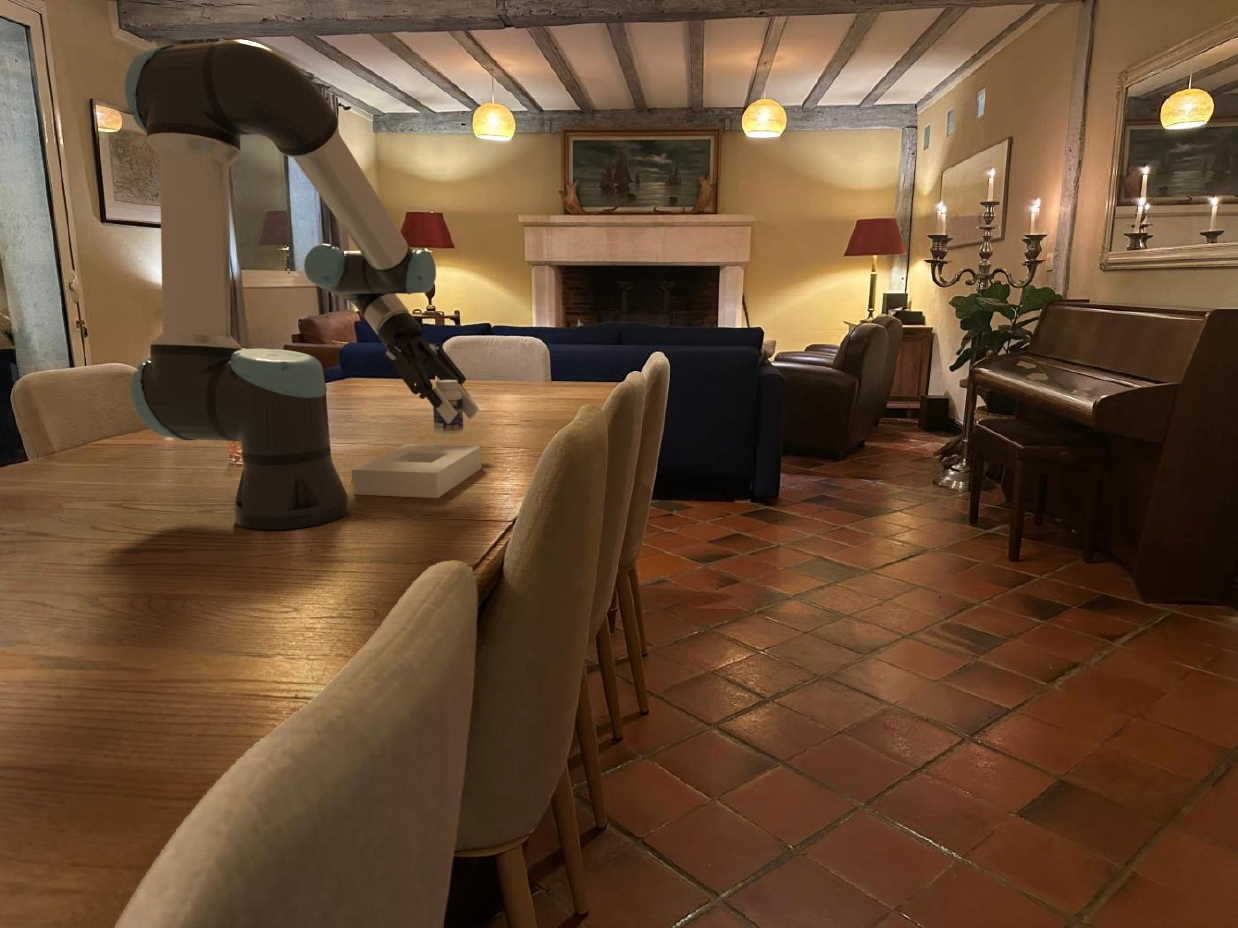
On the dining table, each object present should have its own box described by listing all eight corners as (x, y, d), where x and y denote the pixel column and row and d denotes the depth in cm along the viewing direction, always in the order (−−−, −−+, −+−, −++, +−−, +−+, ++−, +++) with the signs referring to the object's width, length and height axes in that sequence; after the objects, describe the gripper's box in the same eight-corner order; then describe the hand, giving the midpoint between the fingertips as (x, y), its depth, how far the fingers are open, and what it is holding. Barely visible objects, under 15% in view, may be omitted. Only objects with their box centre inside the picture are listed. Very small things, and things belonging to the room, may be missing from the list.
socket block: (353, 494, 128) (351, 469, 127) (407, 465, 147) (406, 443, 146) (437, 498, 125) (436, 472, 124) (481, 468, 144) (480, 446, 143)
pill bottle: (447, 436, 149) (445, 383, 147) (428, 433, 152) (425, 381, 150) (469, 432, 153) (467, 380, 151) (450, 429, 156) (448, 378, 154)
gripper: (418, 336, 164) (484, 422, 160) (347, 340, 149) (418, 436, 144) (437, 309, 161) (505, 397, 156) (366, 311, 145) (439, 409, 140)
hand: (463, 416), depth 150 cm, fingers closed on pill bottle, 5 cm apart
